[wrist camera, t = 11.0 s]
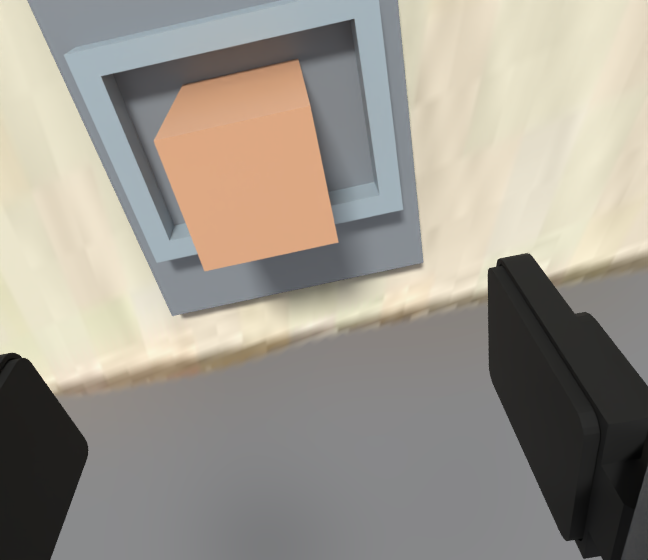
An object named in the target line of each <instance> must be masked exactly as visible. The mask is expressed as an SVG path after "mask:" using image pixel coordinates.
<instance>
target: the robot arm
mask: <svg viewBox="0 0 648 560" xmlns="http://www.w3.org/2000/svg"><path fill="white" fill-rule="evenodd" d="M488 324H489V325H488V331H489V332H488V333H489V371H490V376H491V379H492V383H493V385H494V387H495V390H496V392H497V394H498V396H499V398H500V400H501V403H502V405H503V407H504V409H505V411H506V414H507V416H508V418H509V421H510V423H511V425H512V427H513V429H514V432H515V434H516V436H517V438H518V440H519V443H520V445H521V447H522V449H523V452H524V454H525V456H526V458H527V460H528V462H529V465H530V467H531V469H532V471H533V474H534V476H535V478H536V480H537V482H538V485H539V487H540V489H541V491H542V494H543V496H544V498H545V500H546V502H547V505H548V507H549V509H550V511H551V514H552V516H553V518H554V520H555V522H556V524H557V527H558V529H559V531H560V533H561V535H562V536H563V538H564V539H565V540H566V541H570V540H575V542H576V544H577V546H578V548H579V550H580V552H581V555H582V557H583V558H584V559H585V558H591V557H597V556H601V557H602V559H603V560H648V386H647V385H646V383H645V382H644V381H643V379H642V378H641V377H640V376H639V374H638V373H637V372H636V371H635V369H634V368H633V367H632V366H631V364H630V363H629V362H628V360H627V359H626V358H625V356H624V355H623V354H622V353H621V351H620V350H619V349H618V348H617V346H616V345H615V344H614V342H613V341H612V340H611V338H610V337H609V336H608V335H607V333H606V332H605V331H604V330H603V328H602V327H601V326H600V324H599V323H598V322H597V321H596V319H595V318H593V316H591V315H590V314H589V313H586V312H582V313H577V314H574V312H573V311H572V309H571V308H570V307H569V305H568V304H567V303H566V301H565V300H564V299H563V297H562V296H561V295H560V293H559V292H558V291H557V289H556V288H555V286H554V285H553V284H552V282H551V281H550V280H549V278H548V277H547V276H546V274H545V273H544V272H543V270H542V269H541V268H540V266H539V265H538V263H537V262H536V261H535V259H534V258H533V257H532V256H531V255H530V254H528V253H526V254H520V255H515V256H510V257H505V258H500V259H498V261H497V266H496V267H493V268H489V270H488ZM87 456H88V445H87V442H86V440H85V438H84V437H83V435H82V434H81V432H80V431H79V430H78V428H77V427H76V425H75V424H74V422H73V421H72V420H71V418H70V417H69V415H68V414H67V413H66V411H65V410H64V408H63V407H62V406H61V404H60V403H59V402H58V400H57V398H56V397H55V396H54V394H53V393H52V391H51V390H50V389H49V387H48V386H47V384H46V383H45V382H44V380H43V379H42V377H41V376H40V374H39V373H38V372H37V370H36V369H35V367H34V366H33V365H32V363H31V362H30V361H29V360H28V359H26V358H22V357H21V356H20V355H18V354H16V353H8V354H2V355H0V560H50V559H51V556H52V553H53V551H54V548H55V545H56V542H57V540H58V537H59V534H60V531H61V529H62V526H63V523H64V520H65V518H66V515H67V512H68V509H69V507H70V504H71V501H72V498H73V496H74V493H75V490H76V487H77V484H78V482H79V479H80V476H81V473H82V470H83V468H84V465H85V463H86V460H87Z"/></svg>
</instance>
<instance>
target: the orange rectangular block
mask: <svg viewBox="0 0 648 560" xmlns="http://www.w3.org/2000/svg"><path fill="white" fill-rule="evenodd" d="M154 143H155V146H156V149H157V151H158V154H159V156H160V159H161V161H162V164H163V166H164V169H165V172H166V174H167V177H168V179H169V182H170V184H171V187H172V189H173V192H174V195H175V197H176V200H177V202H178V205H179V207H180V210H181V212H182V215H183V218H184V220H185V223H186V225H187V228H188V230H189V233H190V235H191V238H192V241H193V243H194V246H195V248H196V251H197V253H198V256H199V258H200V261H201V264H202V266H203V269H204V271H209V270H214V269H218V268H223V267H227V266H232V265H237V264H241V263H246V262H251V261H255V260H260V259H264V258H269V257H274V256H278V255H283V254H288V253H292V252H297V251H301V250H306V249H311V248H315V247H320V246H325V245H329V244H334V243H338V237H337V233H336V228H335V223H334V218H333V213H332V208H331V203H330V199H329V194H328V189H327V184H326V179H325V174H324V169H323V165H322V160H321V155H320V150H319V145H318V140H317V135H316V131H315V126H314V121H313V116H312V111H311V106H310V102H309V98H308V95H307V91H306V87H305V83H304V79H303V75H302V71H301V67H300V63H299V60H298V59H294V60H289V61H285V62H281V63H276V64H272V65H267V66H263V67H259V68H254V69H250V70H245V71H241V72H237V73H232V74H228V75H224V76H219V77H215V78H210V79H206V80H202V81H197V82H193V83H188V84H184V85H182V87H181V89H180V91H179V93H178V95H177V96H176V98H175V100H174V102H173V104H172V106H171V108H170V110H169V112H168V114H167V116H166V118H165V120H164V122H163V124H162V125H161V127H160V129H159V131H158V133H157V135H156V137H155V139H154Z"/></svg>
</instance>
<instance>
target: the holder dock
mask: <svg viewBox="0 0 648 560" xmlns="http://www.w3.org/2000/svg"><path fill="white" fill-rule="evenodd" d="M27 1H28V3H29V5H30V7H31V9H32V12H33V14H34V16H35V18H36V20H37V23H38V25H39V27H40V29H41V31H42V33H43V36H44V38H45V40H46V42H47V44H48V46H49V49H50V51H51V53H52V55H53V57H54V60H55V62H56V64H57V66H58V68H59V70H60V73H61V75H62V77H63V79H64V81H65V83H66V86H67V88H68V90H69V92H70V94H71V97H72V99H73V101H74V103H75V105H76V107H77V110H78V112H79V114H80V116H81V118H82V121H83V123H84V125H85V127H86V129H87V131H88V134H89V136H90V138H91V140H92V142H93V144H94V147H95V149H96V151H97V153H98V155H99V158H100V160H101V162H102V164H103V166H104V168H105V171H106V173H107V175H108V177H109V179H110V182H111V184H112V186H113V188H114V190H115V192H116V195H117V197H118V199H119V201H120V203H121V205H122V208H123V210H124V212H125V214H126V216H127V219H128V221H129V223H130V225H131V227H132V229H133V232H134V234H135V236H136V238H137V240H138V243H139V245H140V247H141V249H142V251H143V253H144V256H145V258H146V260H147V262H148V264H149V266H150V269H151V271H152V273H153V275H154V277H155V280H156V282H157V284H158V286H159V288H160V290H161V293H162V295H163V297H164V299H165V301H166V304H167V306H168V308H169V310H170V312H171V314H172V316H174V315H179V314H184V313H189V312H193V311H198V310H203V309H207V308H212V307H217V306H221V305H226V304H231V303H236V302H240V301H245V300H250V299H254V298H259V297H264V296H269V295H273V294H278V293H283V292H287V291H292V290H297V289H301V288H306V287H311V286H316V285H320V284H325V283H330V282H334V281H339V280H344V279H348V278H353V277H358V276H363V275H367V274H372V273H377V272H381V271H386V270H391V269H396V268H400V267H405V266H410V265H414V264H419V263H423V254H422V243H421V233H420V223H419V213H418V203H417V193H416V182H415V172H414V162H413V152H412V142H411V131H410V121H409V111H408V101H407V91H406V80H405V70H404V60H403V50H402V40H401V29H400V19H399V9H398V0H27ZM294 59H298V60H299V63H300V67H301V71H302V75H303V79H304V83H305V87H306V91H307V95H308V98H309V102H310V106H311V111H312V116H313V121H314V126H315V131H316V135H317V140H318V145H319V150H320V155H321V160H322V165H323V169H324V174H325V179H326V184H327V189H328V194H329V199H330V203H331V208H332V213H333V218H334V223H335V228H336V233H337V237H338V243H334V244H329V245H325V246H320V247H315V248H311V249H306V250H301V251H297V252H292V253H288V254H283V255H278V256H274V257H269V258H264V259H260V260H255V261H251V262H246V263H241V264H237V265H232V266H227V267H223V268H218V269H214V270H209V271H204V269H203V266H202V264H201V261H200V258H199V256H198V253H197V251H196V248H195V246H194V243H193V241H192V238H191V235H190V233H189V230H188V228H187V225H186V223H185V220H184V218H183V215H182V212H181V210H180V207H179V205H178V202H177V200H176V197H175V195H174V192H173V189H172V187H171V184H170V182H169V179H168V177H167V174H166V172H165V169H164V166H163V164H162V161H161V159H160V156H159V154H158V151H157V149H156V146H155V143H154V139H155V137H156V135H157V133H158V131H159V129H160V127H161V125H162V124H163V122H164V120H165V118H166V116H167V114H168V112H169V110H170V108H171V106H172V104H173V102H174V100H175V98H176V96H177V95H178V93H179V91H180V89H181V87H182V85H184V84H188V83H193V82H197V81H202V80H206V79H210V78H215V77H219V76H224V75H228V74H232V73H237V72H241V71H245V70H250V69H254V68H259V67H263V66H267V65H272V64H276V63H281V62H285V61H289V60H294Z"/></svg>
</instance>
